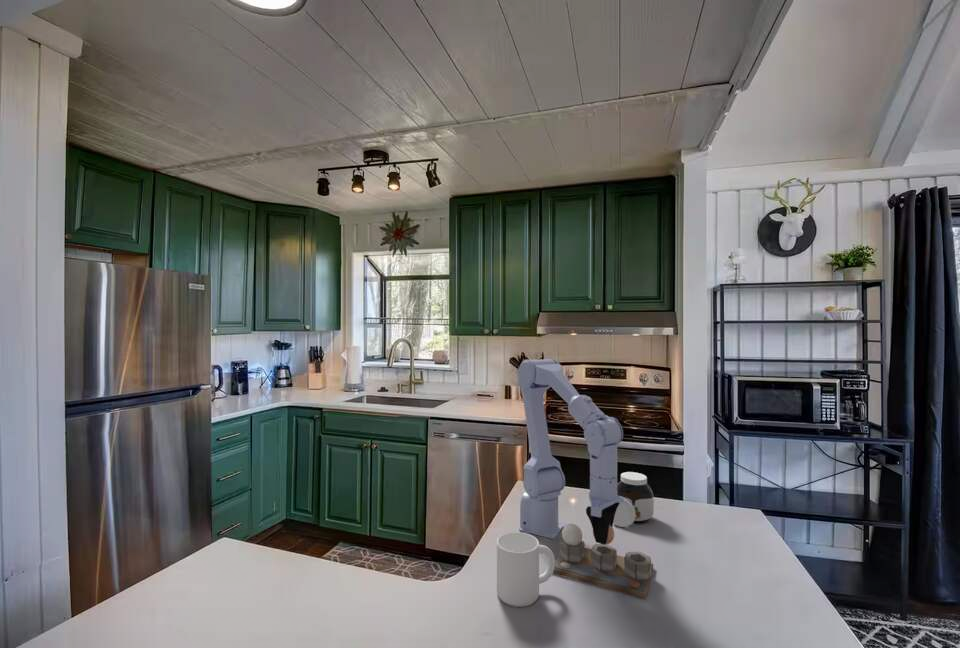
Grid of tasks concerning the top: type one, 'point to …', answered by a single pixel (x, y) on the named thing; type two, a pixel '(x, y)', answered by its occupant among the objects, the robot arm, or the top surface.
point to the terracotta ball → (609, 535)
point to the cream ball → (572, 534)
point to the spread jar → (634, 500)
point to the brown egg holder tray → (606, 568)
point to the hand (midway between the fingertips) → (603, 537)
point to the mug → (520, 568)
